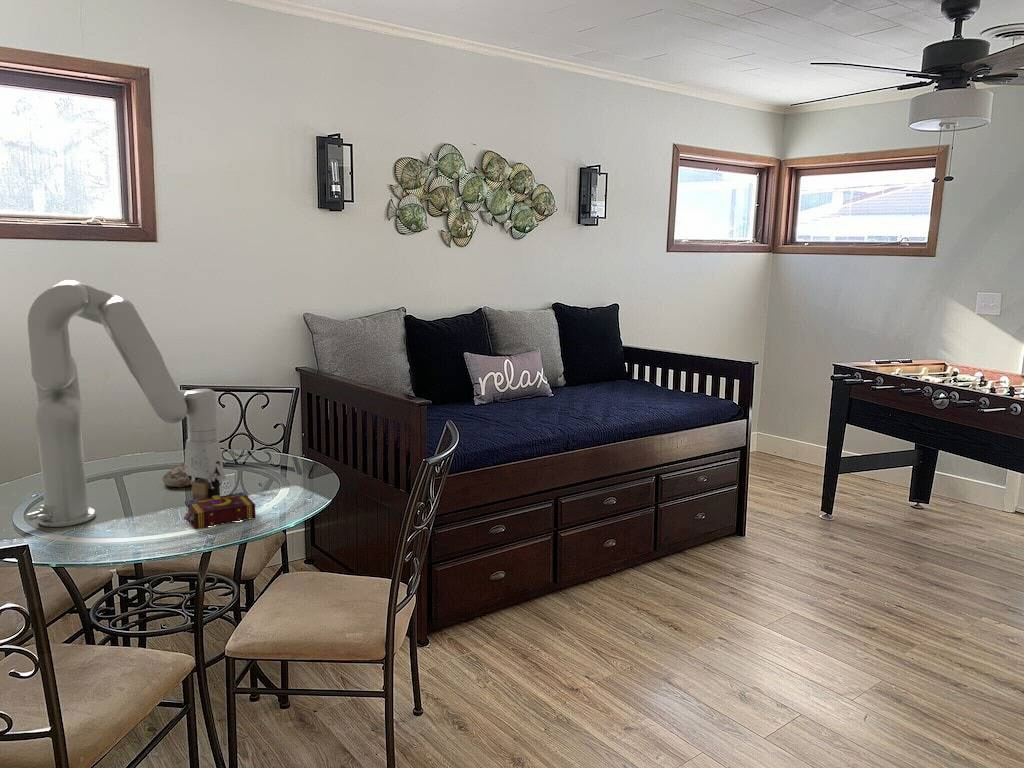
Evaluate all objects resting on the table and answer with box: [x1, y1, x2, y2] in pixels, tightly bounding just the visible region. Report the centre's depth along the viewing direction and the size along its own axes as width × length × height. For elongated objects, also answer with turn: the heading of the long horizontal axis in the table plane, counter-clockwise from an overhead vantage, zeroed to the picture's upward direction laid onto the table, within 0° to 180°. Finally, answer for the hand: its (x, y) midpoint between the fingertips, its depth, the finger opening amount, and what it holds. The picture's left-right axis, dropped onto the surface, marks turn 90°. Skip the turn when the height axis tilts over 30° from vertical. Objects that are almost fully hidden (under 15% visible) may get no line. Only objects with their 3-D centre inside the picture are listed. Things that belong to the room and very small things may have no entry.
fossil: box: [162, 461, 192, 489], centre depth 230 cm, size 12×8×10 cm
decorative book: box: [183, 491, 257, 529], centre depth 201 cm, size 11×16×5 cm
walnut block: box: [191, 479, 221, 500], centre depth 213 cm, size 5×5×6 cm
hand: (206, 499), depth 214 cm, fingers closed on walnut block, 5 cm apart
